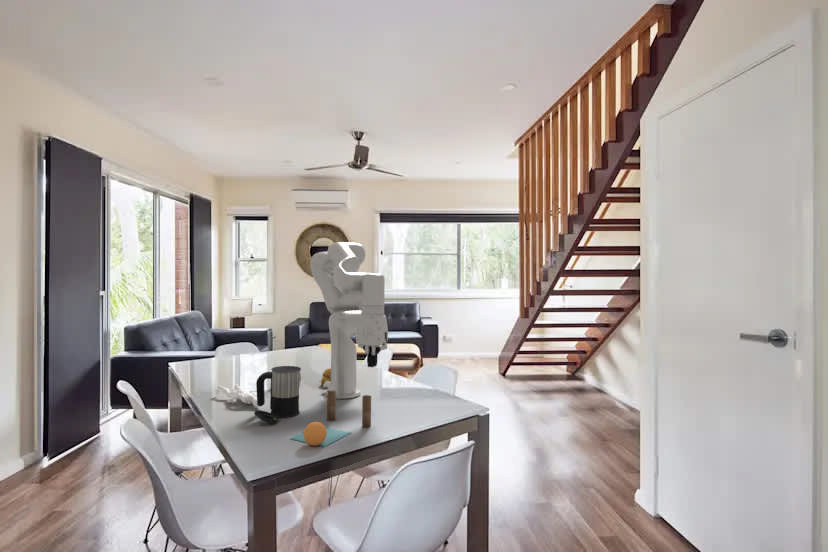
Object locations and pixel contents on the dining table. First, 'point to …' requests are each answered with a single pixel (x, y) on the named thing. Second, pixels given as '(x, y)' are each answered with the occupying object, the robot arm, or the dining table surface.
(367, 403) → the post
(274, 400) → the milk frother
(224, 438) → the dining table surface
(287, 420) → the dining table surface
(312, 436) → the ball
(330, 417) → the post
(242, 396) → the white crumpled cloth
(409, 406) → the dining table surface
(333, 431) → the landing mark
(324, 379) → the bread roll
